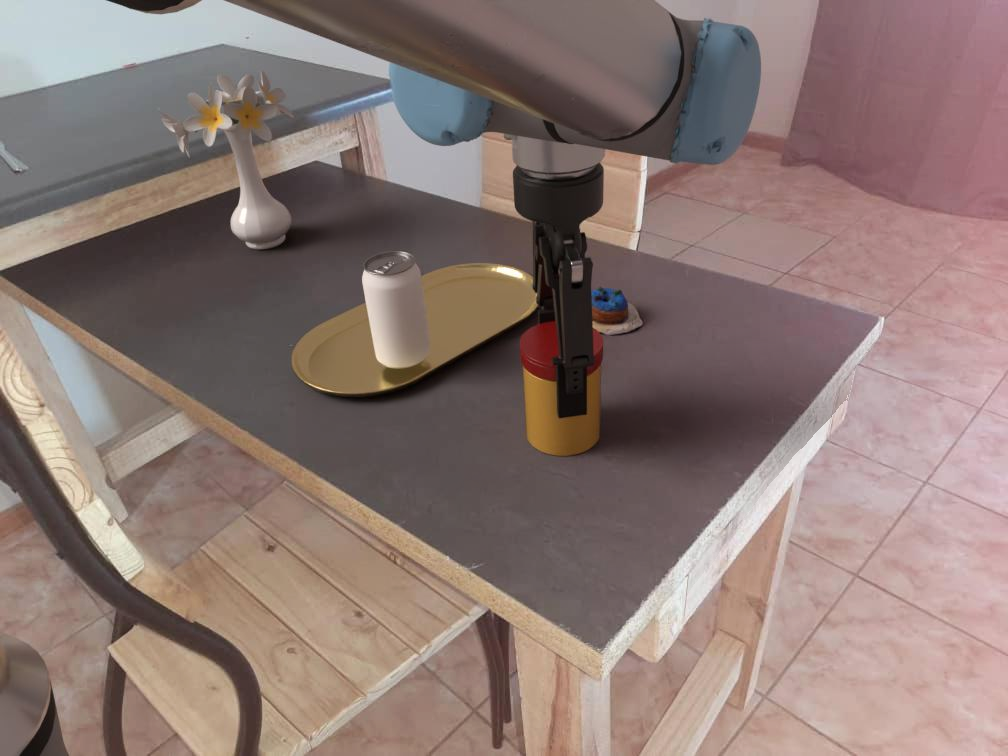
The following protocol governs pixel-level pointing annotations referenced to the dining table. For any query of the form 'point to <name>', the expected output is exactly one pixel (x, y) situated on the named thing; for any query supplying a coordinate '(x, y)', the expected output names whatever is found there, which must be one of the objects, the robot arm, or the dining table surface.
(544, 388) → the jar
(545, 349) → the jar lid
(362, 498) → the dining table surface
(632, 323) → the dessert
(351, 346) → the serving platter
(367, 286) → the can
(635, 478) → the dining table surface
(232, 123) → the flower vase
